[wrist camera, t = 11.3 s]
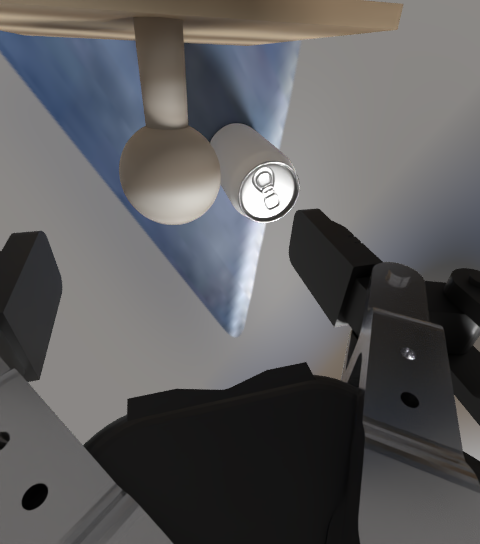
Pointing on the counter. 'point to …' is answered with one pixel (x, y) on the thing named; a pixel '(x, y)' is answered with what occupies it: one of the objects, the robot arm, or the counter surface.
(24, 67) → the counter surface
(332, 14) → the wooden box lid
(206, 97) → the counter surface
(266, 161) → the can
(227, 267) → the counter surface
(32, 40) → the counter surface
